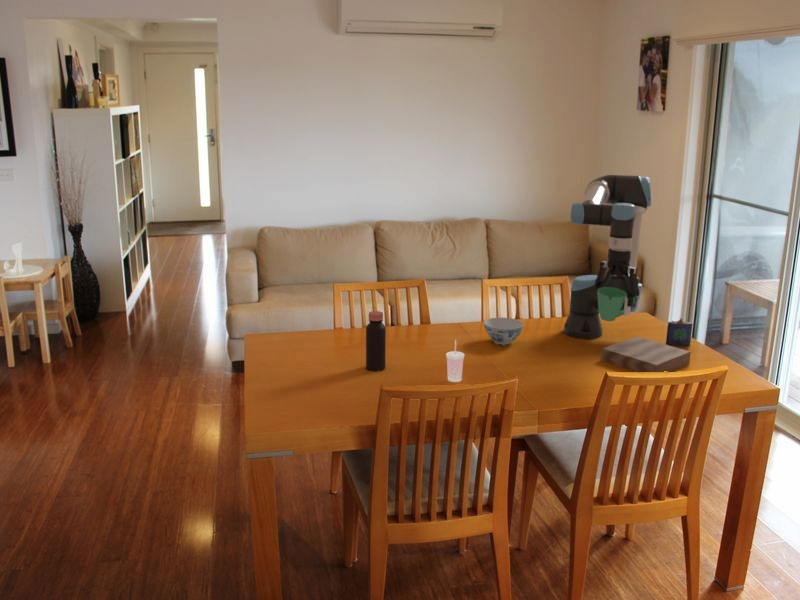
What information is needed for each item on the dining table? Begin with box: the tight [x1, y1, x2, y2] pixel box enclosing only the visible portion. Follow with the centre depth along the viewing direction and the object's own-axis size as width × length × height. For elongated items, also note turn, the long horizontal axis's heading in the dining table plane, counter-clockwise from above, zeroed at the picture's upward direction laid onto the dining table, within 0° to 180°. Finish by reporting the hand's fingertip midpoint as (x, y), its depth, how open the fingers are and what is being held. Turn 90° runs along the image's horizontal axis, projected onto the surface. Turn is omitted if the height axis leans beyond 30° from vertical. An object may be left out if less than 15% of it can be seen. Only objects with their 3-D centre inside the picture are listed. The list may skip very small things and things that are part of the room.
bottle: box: [365, 310, 387, 372], centre depth 263 cm, size 7×7×20 cm
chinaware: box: [483, 317, 524, 346], centre depth 293 cm, size 15×15×8 cm
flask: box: [665, 317, 693, 347], centre depth 292 cm, size 9×3×11 cm, turn 87°
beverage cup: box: [445, 339, 465, 383], centre depth 254 cm, size 6×6×14 cm
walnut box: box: [600, 336, 692, 373], centre depth 274 cm, size 22×22×5 cm
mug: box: [597, 287, 637, 322], centre depth 266 cm, size 15×10×10 cm
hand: (614, 311), depth 267 cm, fingers closed on mug, 10 cm apart
